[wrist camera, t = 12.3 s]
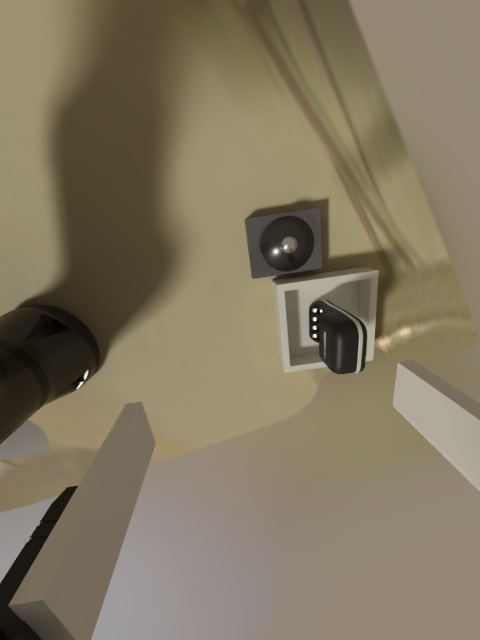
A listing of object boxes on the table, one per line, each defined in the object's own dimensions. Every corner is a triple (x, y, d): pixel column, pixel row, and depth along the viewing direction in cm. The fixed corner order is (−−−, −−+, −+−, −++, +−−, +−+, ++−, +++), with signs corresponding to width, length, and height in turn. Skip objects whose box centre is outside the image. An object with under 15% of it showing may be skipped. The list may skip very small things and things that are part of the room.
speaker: (251, 276, 35) (254, 281, 30) (244, 219, 32) (246, 216, 28) (316, 267, 35) (328, 270, 30) (315, 209, 32) (328, 204, 28)
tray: (279, 360, 40) (284, 372, 36) (271, 280, 35) (276, 285, 31) (359, 348, 39) (373, 360, 36) (362, 266, 35) (378, 270, 31)
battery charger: (303, 300, 35) (335, 327, 24) (328, 297, 35) (370, 323, 24) (304, 341, 38) (333, 382, 27) (327, 338, 37) (365, 378, 27)
